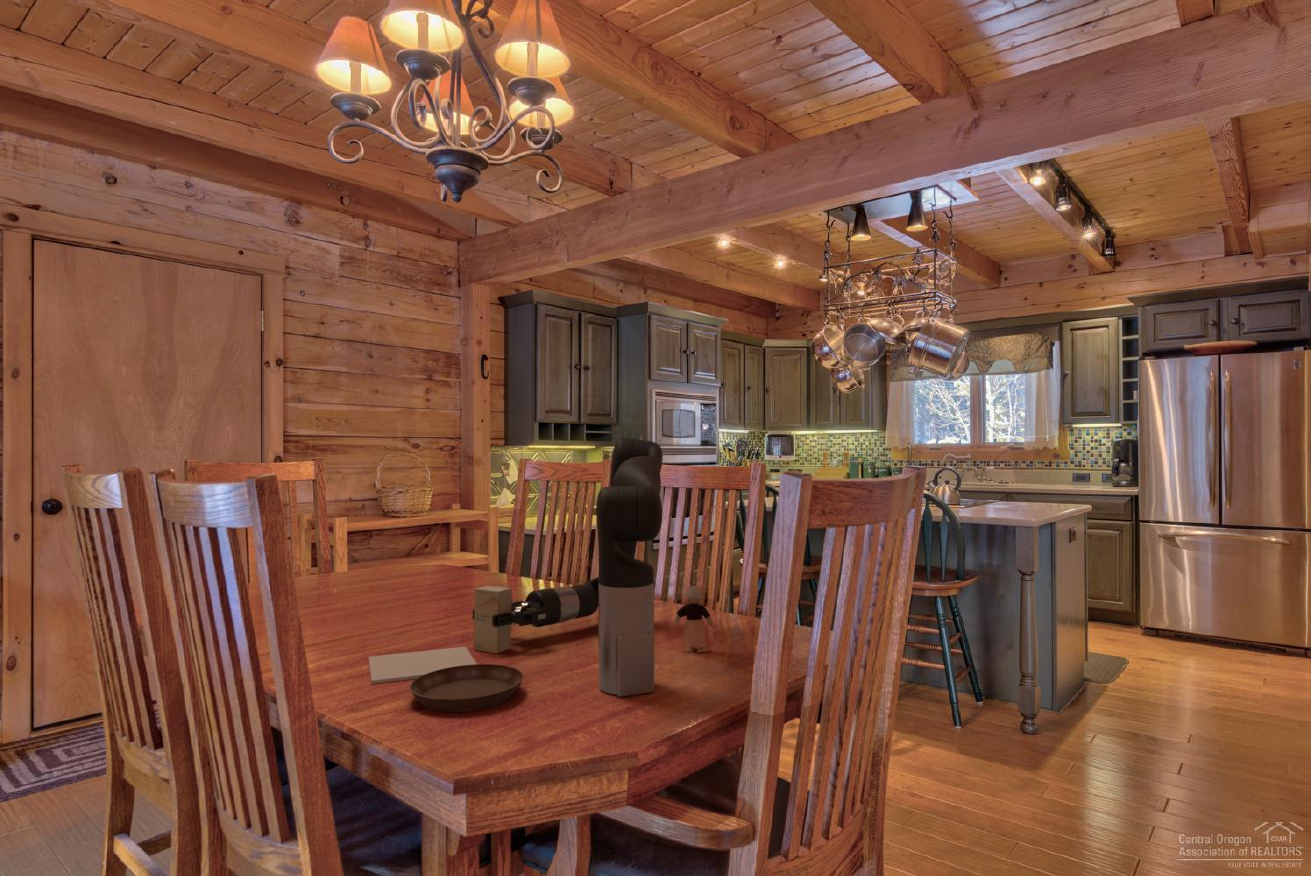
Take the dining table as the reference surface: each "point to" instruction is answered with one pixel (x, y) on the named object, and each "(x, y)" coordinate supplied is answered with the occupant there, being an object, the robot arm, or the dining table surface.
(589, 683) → the dining table surface
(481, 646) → the skincare box
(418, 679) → the plant saucer
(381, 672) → the mat
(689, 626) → the grandmother figurine
